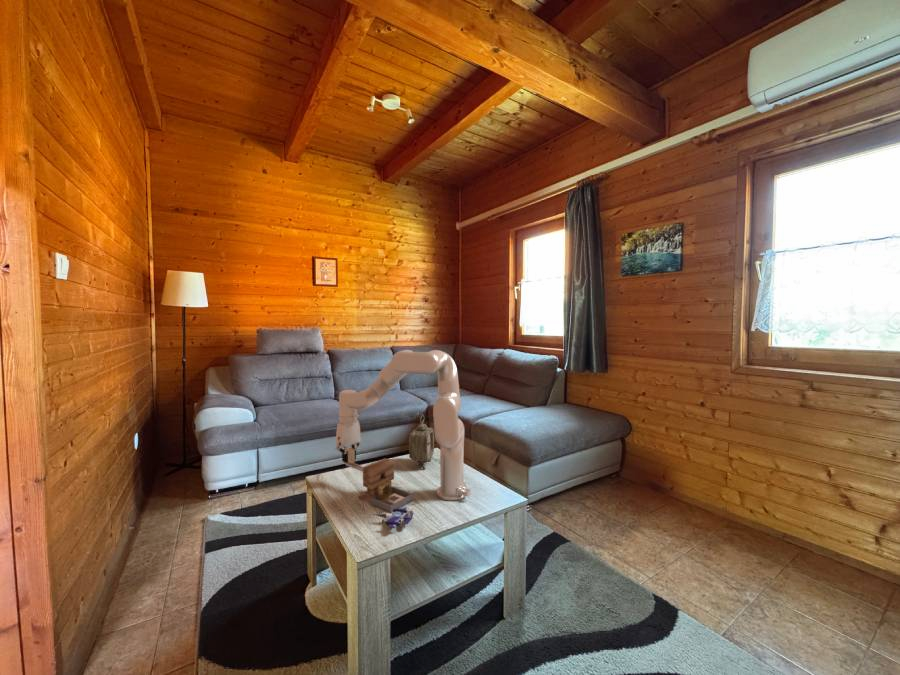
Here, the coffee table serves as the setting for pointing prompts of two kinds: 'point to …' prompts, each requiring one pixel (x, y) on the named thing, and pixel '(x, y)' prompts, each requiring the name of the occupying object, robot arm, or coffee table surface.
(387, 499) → the square wooden ring
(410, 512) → the toy airplane
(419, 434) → the old lantern
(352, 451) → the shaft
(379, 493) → the bar
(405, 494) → the tray
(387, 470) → the bearing block
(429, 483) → the coffee table surface
